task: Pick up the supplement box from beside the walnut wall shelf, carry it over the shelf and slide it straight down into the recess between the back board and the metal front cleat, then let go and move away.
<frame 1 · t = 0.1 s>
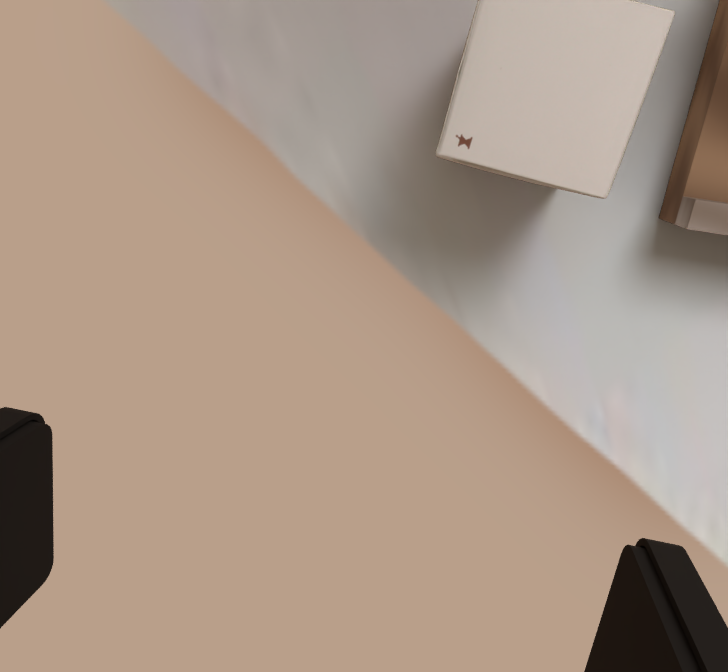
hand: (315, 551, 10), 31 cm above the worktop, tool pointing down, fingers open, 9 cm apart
supplement box: (521, 106, 37), on the worktop
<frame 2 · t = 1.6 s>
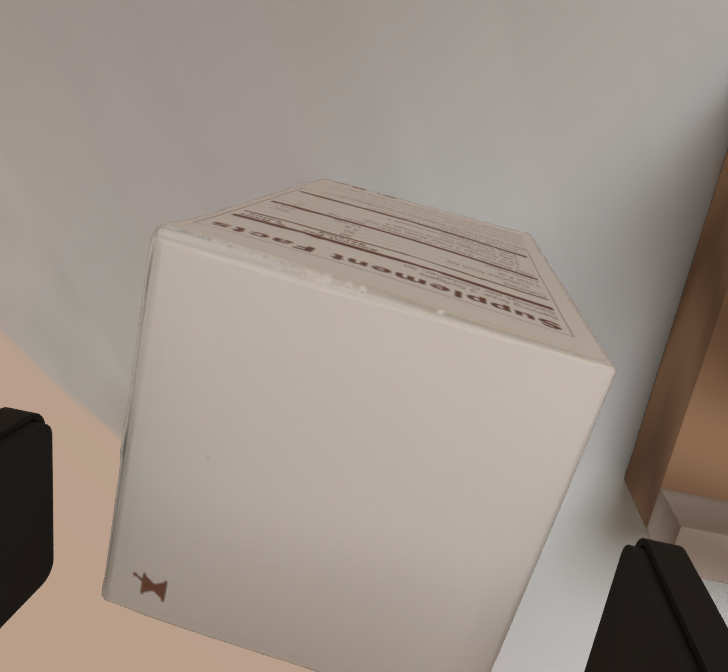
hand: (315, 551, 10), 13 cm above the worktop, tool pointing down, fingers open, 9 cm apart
supplement box: (399, 301, 22), on the worktop
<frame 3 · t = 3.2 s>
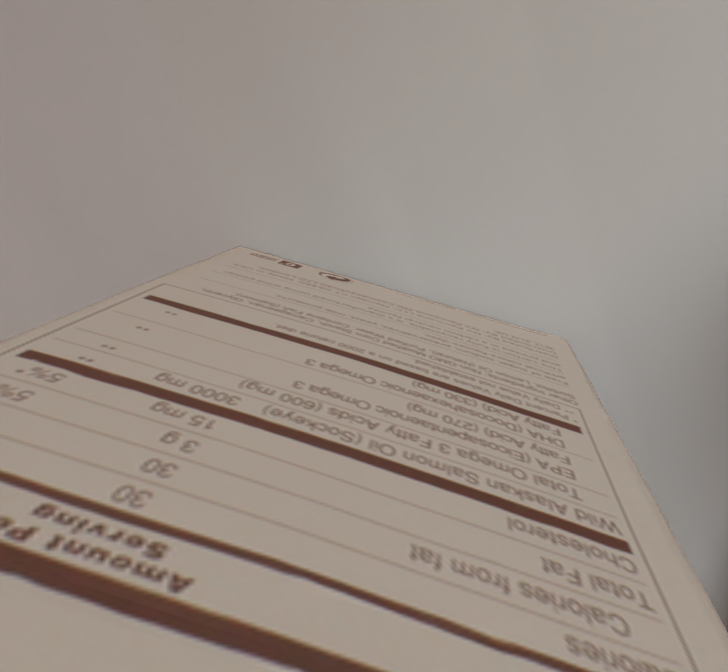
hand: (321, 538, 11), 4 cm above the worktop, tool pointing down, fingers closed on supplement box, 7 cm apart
supplement box: (360, 430, 14), on the worktop, touching gripper
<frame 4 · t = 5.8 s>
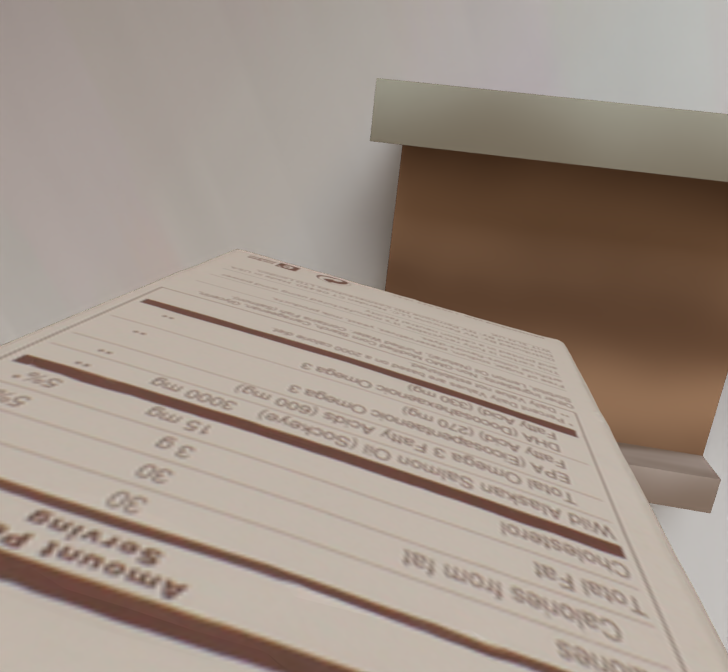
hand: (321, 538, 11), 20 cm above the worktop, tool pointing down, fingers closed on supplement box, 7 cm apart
supplement box: (358, 432, 14), point 16 cm above the worktop, touching gripper
wall shelf: (548, 288, 28), on the worktop
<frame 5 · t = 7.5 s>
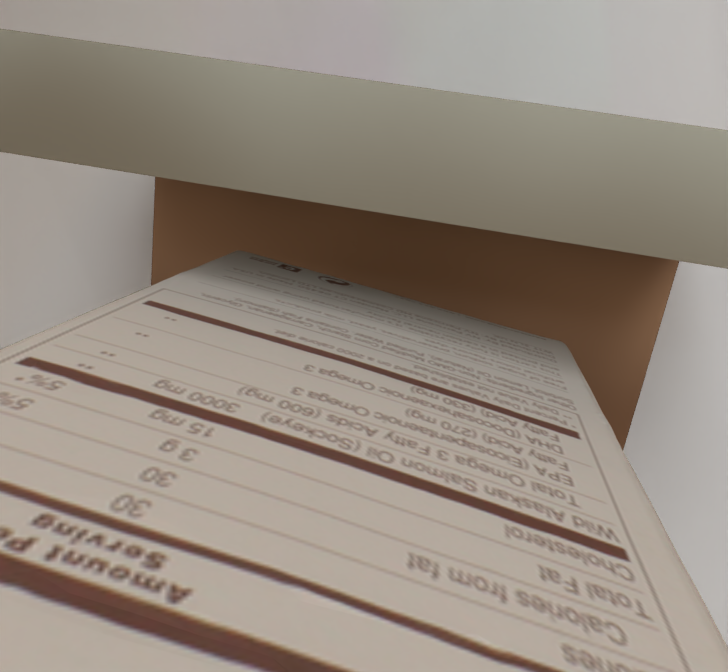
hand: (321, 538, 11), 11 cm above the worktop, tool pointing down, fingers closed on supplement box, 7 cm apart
supplement box: (360, 434, 14), point 7 cm above the worktop, touching gripper
wall shelf: (392, 341, 21), on the worktop
when the fingers open (8 cm above the worktop, at t = 8.6 s): supplement box drops 1 cm, resting on wall shelf.
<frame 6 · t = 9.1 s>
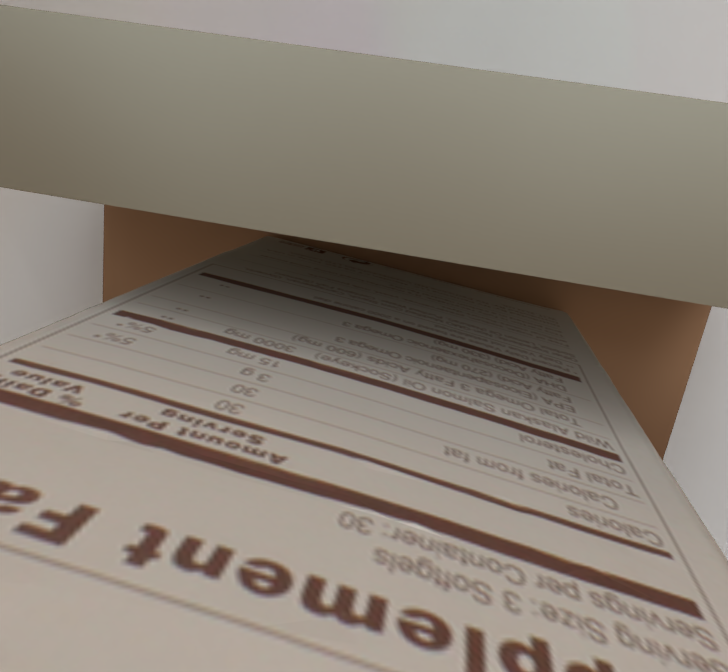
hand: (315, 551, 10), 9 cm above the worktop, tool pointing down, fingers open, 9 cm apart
supplement box: (380, 403, 16), point 3 cm above the worktop, touching wall shelf
wall shelf: (383, 369, 18), on the worktop
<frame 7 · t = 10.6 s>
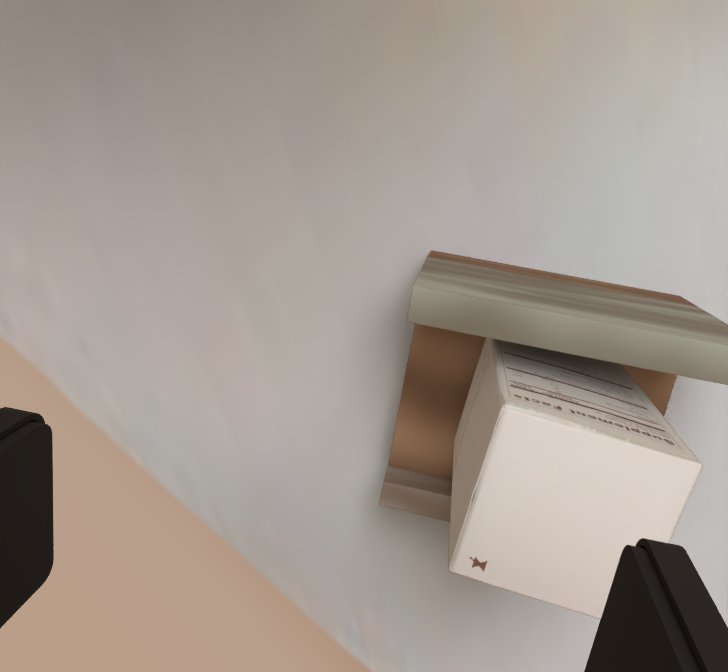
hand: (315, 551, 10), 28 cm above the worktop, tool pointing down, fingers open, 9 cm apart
supplement box: (534, 401, 35), point 3 cm above the worktop, touching wall shelf
wall shelf: (524, 387, 38), on the worktop
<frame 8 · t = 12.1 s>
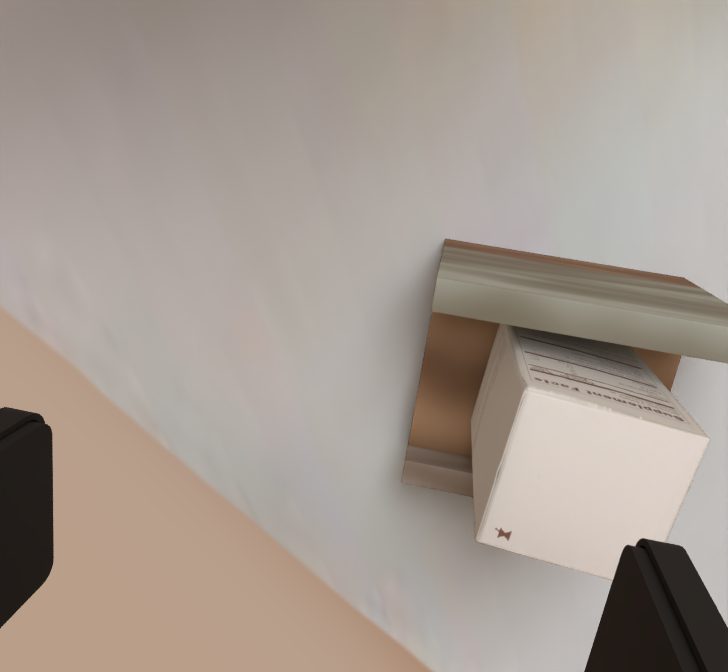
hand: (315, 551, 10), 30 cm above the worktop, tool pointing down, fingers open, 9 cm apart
supplement box: (546, 381, 37), point 3 cm above the worktop, touching wall shelf
wall shelf: (536, 367, 40), on the worktop
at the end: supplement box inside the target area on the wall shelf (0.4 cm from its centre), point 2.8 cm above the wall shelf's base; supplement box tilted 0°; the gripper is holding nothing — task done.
